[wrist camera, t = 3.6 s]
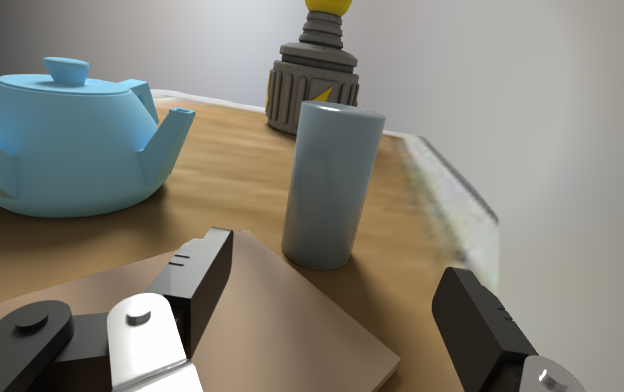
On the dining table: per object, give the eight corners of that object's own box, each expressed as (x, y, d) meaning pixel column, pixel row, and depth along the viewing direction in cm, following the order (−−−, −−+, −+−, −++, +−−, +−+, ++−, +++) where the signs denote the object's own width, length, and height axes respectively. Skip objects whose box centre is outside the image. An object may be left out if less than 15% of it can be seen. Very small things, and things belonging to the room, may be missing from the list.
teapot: (201, 212, 27) (203, 84, 22) (-60, 256, 17) (-144, 52, 13) (157, 156, 37) (152, 62, 33) (-22, 165, 28) (-62, 35, 23)
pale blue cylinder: (315, 280, 20) (349, 119, 16) (267, 241, 24) (284, 99, 20) (364, 255, 24) (402, 119, 20) (316, 224, 28) (339, 102, 23)
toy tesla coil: (262, 115, 72) (276, -37, 60) (336, 124, 77) (363, -15, 65) (267, 134, 55) (288, -70, 43) (361, 145, 60) (404, -37, 48)
